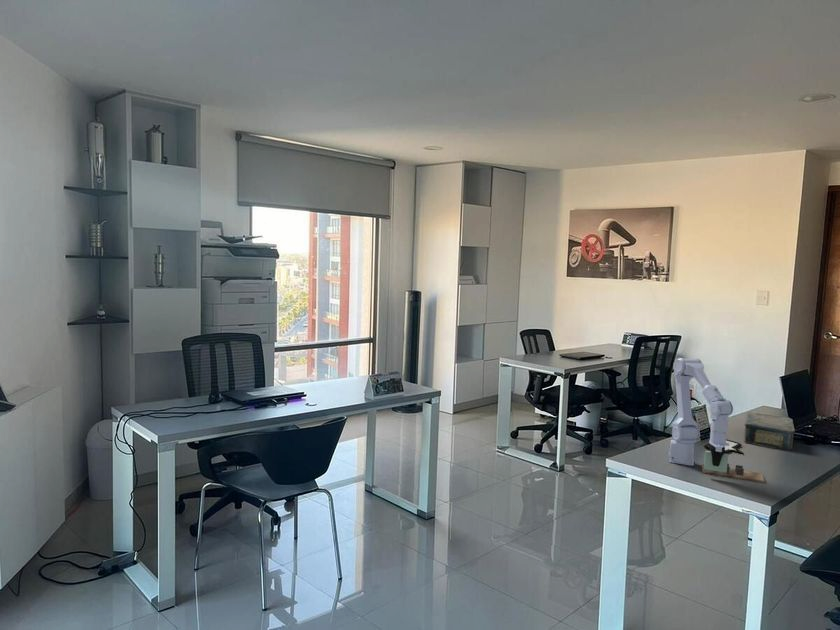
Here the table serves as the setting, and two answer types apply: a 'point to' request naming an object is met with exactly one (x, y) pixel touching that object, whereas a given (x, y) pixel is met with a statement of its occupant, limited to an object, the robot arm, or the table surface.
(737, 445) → the decorative sign
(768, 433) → the metal box
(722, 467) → the door panel
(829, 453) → the table surface
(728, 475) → the rail
